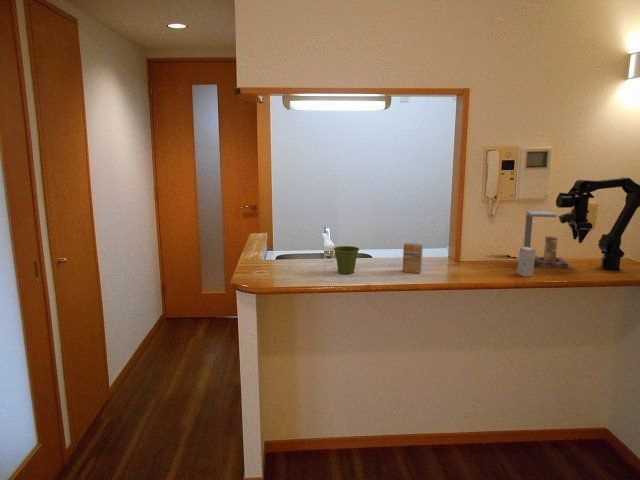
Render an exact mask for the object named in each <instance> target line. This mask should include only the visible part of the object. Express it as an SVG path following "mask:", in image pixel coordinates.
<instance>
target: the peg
mask: <svg viewBox="0 0 640 480" xmlns="http://www.w3.org/2000/svg"><path fill="white" fill-rule="evenodd" d="M544 239H545V240H544V249H543V250H544V251H543V257H544V260H543V261H545V262H555V260H556V257H557V249H558V248H557V247H558V246H557V245H558V237H557V236H551V235H550V236H548V235H547V236H545V238H544Z"/></svg>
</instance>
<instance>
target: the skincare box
mask: <svg viewBox="0 0 640 480" xmlns="http://www.w3.org/2000/svg"><path fill="white" fill-rule="evenodd" d="M536 251H537V250H536V249H534V248H533V247H532V248H531V247H530V248H529V247H524V246H522V247H520V251H519V258H518V261H517V262H518V263H517V270H516V273H517V275H520V276H522V277H533V276H534V260H535V256H536Z"/></svg>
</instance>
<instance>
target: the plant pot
mask: <svg viewBox="0 0 640 480" xmlns="http://www.w3.org/2000/svg"><path fill="white" fill-rule="evenodd" d="M332 250H333V251H334V254H335V259H336V264H337V265H336V266H337V272H338V273H339V274H341V275H346V274H347V275H352V274H355V268H356V263H357V258H358V257H357V256H358V254H359V251H360V248H359V247H356V246H352V245H350V246H349V245H342V246H341V245H340V246H339V245H338V246H335V247H333V248H332Z"/></svg>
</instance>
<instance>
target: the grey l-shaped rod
mask: <svg viewBox="0 0 640 480" xmlns="http://www.w3.org/2000/svg"><path fill="white" fill-rule="evenodd" d="M525 213H526V214H525V226H524V237H523V238H524V239H523V247H529V248H531V241H532V232H533V231H532V228H533V218H536V217H539V218H540V217H541V218H557V213H554V211H553V212H552V211H549V210H548V211H547V210H546V211H542V210H541V211H540V210H526V212H525Z"/></svg>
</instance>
